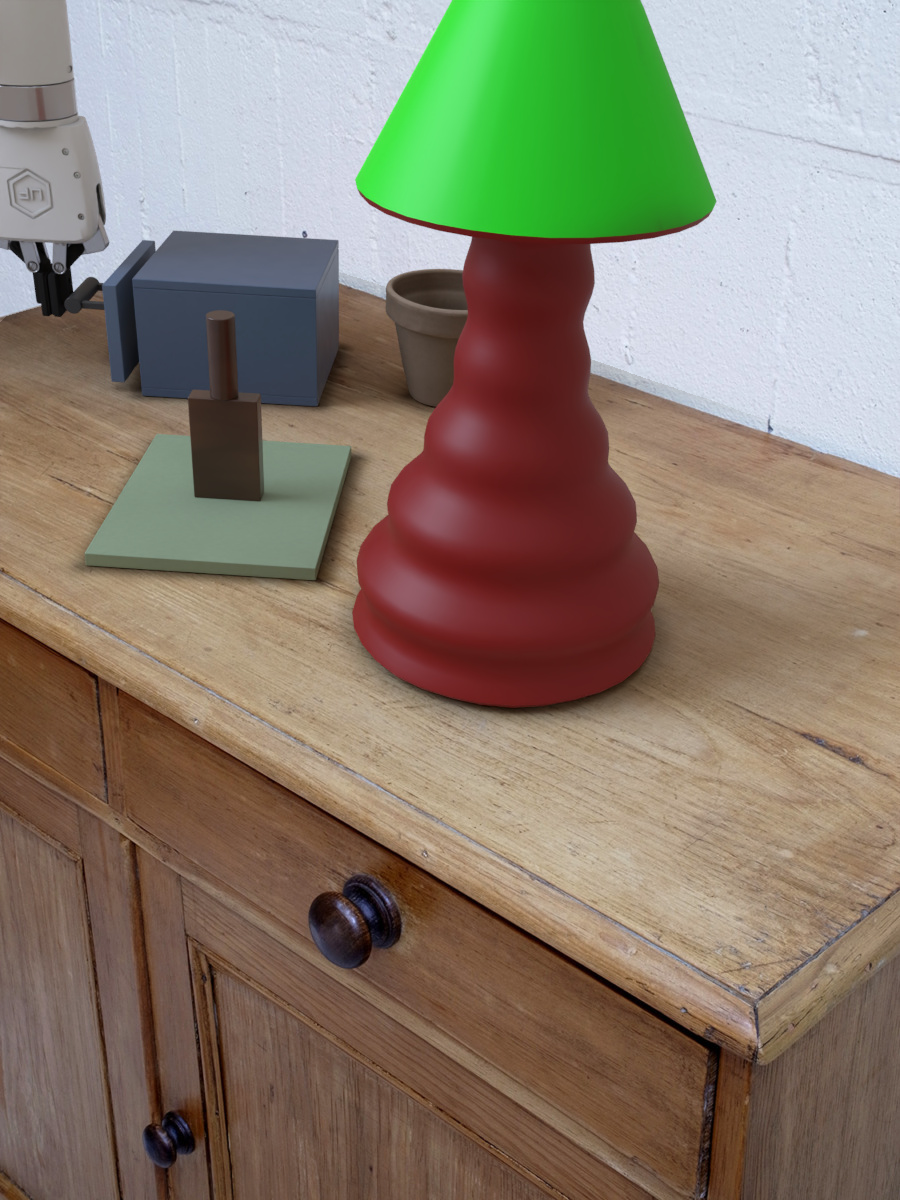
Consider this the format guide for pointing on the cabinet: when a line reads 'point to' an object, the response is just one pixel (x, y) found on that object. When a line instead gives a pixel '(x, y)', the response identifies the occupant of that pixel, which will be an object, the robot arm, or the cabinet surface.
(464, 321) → the flower pot
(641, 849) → the cabinet surface
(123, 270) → the drawer
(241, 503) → the mat
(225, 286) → the cabinet
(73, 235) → the robot arm
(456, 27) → the table lamp
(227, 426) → the paddle
